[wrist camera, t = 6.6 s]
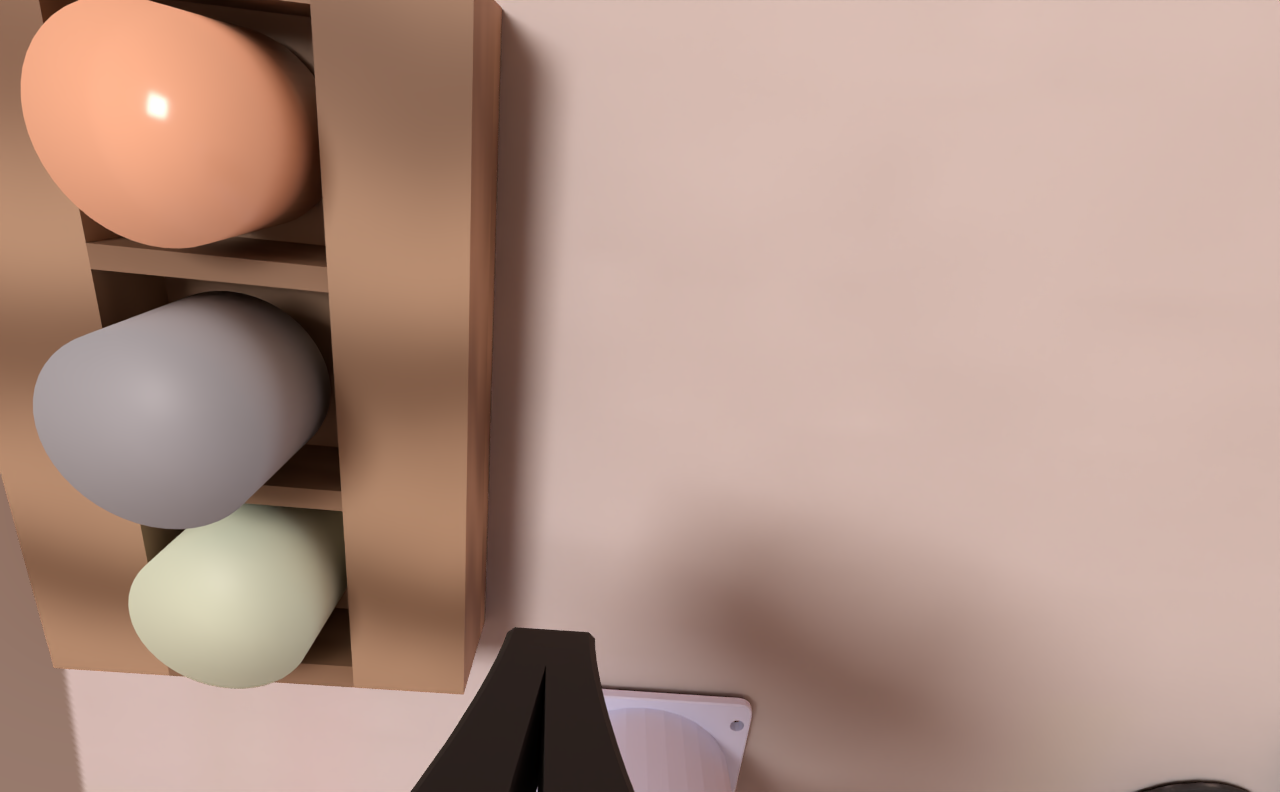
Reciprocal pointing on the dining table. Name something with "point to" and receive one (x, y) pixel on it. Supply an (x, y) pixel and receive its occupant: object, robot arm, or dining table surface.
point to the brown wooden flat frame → (326, 309)
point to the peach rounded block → (171, 122)
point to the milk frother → (1197, 788)
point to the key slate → (182, 407)
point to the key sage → (242, 594)
